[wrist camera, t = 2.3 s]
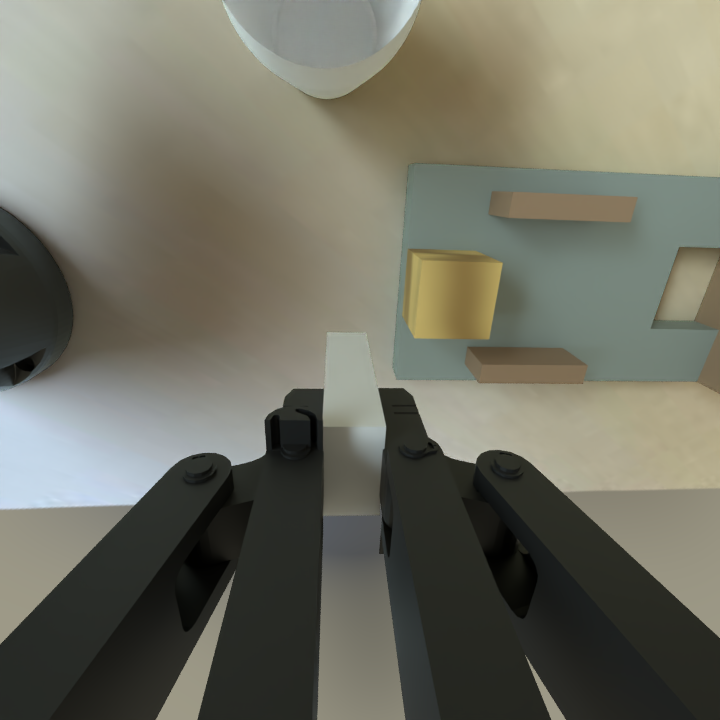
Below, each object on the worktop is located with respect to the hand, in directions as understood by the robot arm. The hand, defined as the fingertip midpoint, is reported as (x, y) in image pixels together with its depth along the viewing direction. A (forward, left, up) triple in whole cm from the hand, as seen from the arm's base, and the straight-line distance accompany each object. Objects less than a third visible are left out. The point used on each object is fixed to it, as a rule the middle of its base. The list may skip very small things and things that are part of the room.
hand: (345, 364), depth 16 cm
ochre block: (+7, 0, -15) cm, 16 cm away
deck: (+18, 0, -17) cm, 25 cm away
